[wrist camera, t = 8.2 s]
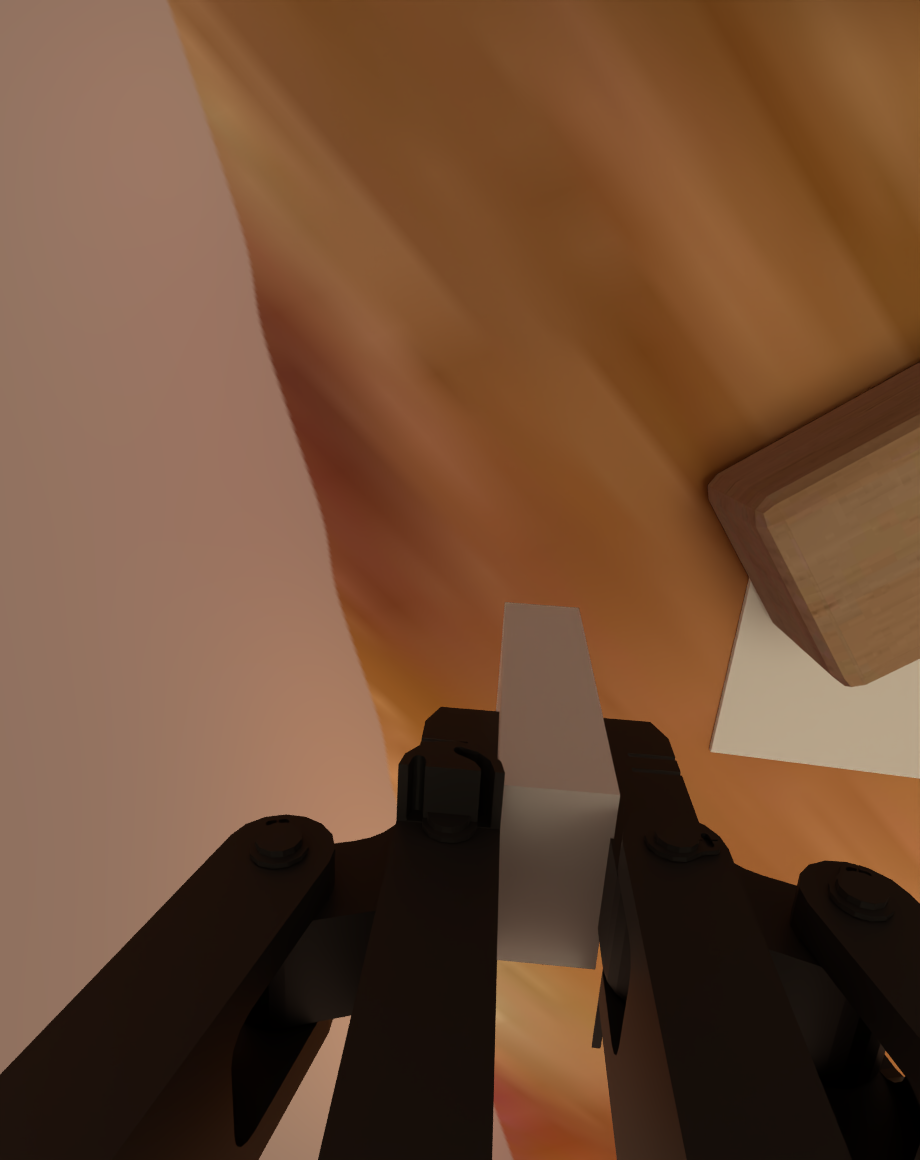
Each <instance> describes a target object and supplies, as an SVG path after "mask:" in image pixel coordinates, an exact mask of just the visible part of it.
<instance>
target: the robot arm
mask: <svg viewBox="0 0 920 1160" xmlns="http://www.w3.org/2000/svg"><path fill="white" fill-rule="evenodd" d="M599 942H600V950H601V957H602V965H603V972H602V978H601V985H600V992H599V999H598V1006H597V1012H596V1019H595V1026H594V1033H593V1041H592V1048H600V1047H601V1041H602V1037H603V1045H604V1054H605V1062H606V1071H607V1079H608V1088H609V1096H610V1104H611V1113H612V1121H613V1130H614V1138H615V1147H616V1155H617V1160H920V903H918V902H917V901H916V900H915V899H914V898H913V897H912V896H911V895H910V894H909V893H908V892H907V891H905V890H904V889H903V888H901V887H900V886H899V885H898V884H896V883H895V882H894V881H893V880H891V879H889V878H887V877H885V876H883V875H881V874H879V873H877V872H875V871H873V870H871V869H869V868H866V867H863V866H860V865H859V866H858V865H856V864H851V863H848V862H838V861H822V862H818V863H814V864H810V865H808V866H807V867H806V868H805V869H804V870H803V871H802V872H801V873H800V875H799V880H798V884H797V886H796V885H793V884H789V883H786V882H783V881H779V880H776V879H773V878H769V877H766V876H763V875H760V874H757V873H754V872H752V871H749V870H746V869H744V868H742V867H740V866H738V865H737V864H735V863H734V862H733V859H732V857H731V854H730V852H729V849H728V848H727V846H726V845H725V843H724V842H723V841H722V839H721V838H720V836H718V835H717V834H716V833H714V832H713V831H712V830H710V829H709V828H708V827H706V826H705V825H703V824H701V823H699V821H698V818H697V816H696V813H695V810H694V808H693V805H692V802H691V799H690V797H689V794H688V791H687V788H686V786H685V783H684V780H683V777H682V776H680V769H679V766H678V764H677V761H675V755H674V753H673V750H672V747H671V745H670V742H669V739H668V738H667V737H666V736H665V735H664V734H663V733H662V732H660V731H659V730H658V729H657V728H656V727H655V726H654V725H653V724H652V723H651V722H644V721H632V720H620V719H607V718H603V715H602V711H601V706H600V702H599V697H598V693H597V688H596V684H595V679H594V674H593V670H592V665H591V661H590V656H589V652H588V647H587V643H586V638H585V634H584V629H583V625H582V620H581V616H580V611H579V608H573V607H560V606H547V605H534V604H521V603H508V602H505V609H504V621H503V633H502V646H501V658H500V671H499V683H498V695H497V708H496V711H485V710H472V709H460V708H448V707H440V708H439V709H438V710H437V711H436V712H435V713H434V714H433V715H431V716H430V717H429V718H428V719H427V720H426V721H425V726H424V730H423V735H422V741H421V744H420V745H419V746H417V747H416V748H414V749H412V750H410V751H409V752H407V753H405V755H404V756H403V758H402V760H401V761H400V763H399V768H398V795H397V821H396V824H395V825H394V826H393V827H391V828H390V829H388V830H387V831H385V832H383V833H381V834H378V835H376V836H373V837H371V838H367V839H362V840H357V841H351V842H343V843H336V844H334V841H333V836H332V834H331V833H330V832H329V831H328V830H327V829H326V828H325V827H324V825H322V824H321V823H319V822H317V821H314V820H312V819H309V818H307V817H302V816H294V815H278V816H271V817H264V818H261V819H259V820H256V821H253V822H251V823H248V824H245V825H244V826H243V827H241V828H240V829H239V830H237V831H236V832H234V833H233V834H232V835H231V836H230V837H229V838H228V839H227V840H226V841H225V842H224V843H223V844H222V845H221V846H220V847H219V848H218V849H217V850H216V851H215V852H214V853H213V854H212V855H211V856H210V857H209V858H208V859H207V860H206V861H205V863H204V864H203V865H202V866H201V867H200V868H199V869H198V870H197V871H196V872H195V873H194V874H193V875H192V876H191V877H190V878H189V879H188V880H187V881H186V882H185V883H184V884H183V885H182V886H181V888H179V890H178V891H177V892H176V893H175V894H174V895H173V896H172V897H171V898H170V899H169V900H168V901H167V902H166V903H165V904H164V905H163V906H162V907H161V908H160V909H159V910H158V911H157V912H156V913H155V915H154V916H153V917H152V918H151V919H150V920H149V921H148V922H147V923H146V924H145V925H144V926H143V927H142V928H141V929H140V930H139V931H138V932H137V933H136V934H135V935H134V936H133V937H132V938H131V939H130V941H128V942H127V943H126V945H125V946H124V947H123V948H122V949H121V950H120V951H119V952H118V953H117V954H116V955H115V956H114V957H113V958H112V959H111V960H110V961H109V962H108V963H107V964H106V965H105V966H104V967H103V968H102V969H101V970H100V972H99V973H98V974H97V975H96V976H95V977H94V978H93V979H92V980H91V981H90V982H89V983H88V984H87V985H86V986H85V987H84V988H83V989H82V990H81V991H80V992H79V993H78V994H77V995H76V996H75V997H74V999H73V1000H72V1001H71V1002H70V1003H69V1004H68V1005H67V1006H66V1007H65V1008H64V1009H63V1010H62V1011H61V1012H60V1013H59V1014H58V1015H57V1016H56V1017H55V1018H54V1019H53V1020H52V1021H51V1022H50V1023H49V1024H48V1026H47V1027H46V1028H45V1029H44V1030H43V1031H42V1032H41V1033H40V1034H39V1035H38V1036H37V1037H36V1038H35V1039H34V1040H33V1041H32V1042H31V1043H30V1044H29V1045H28V1046H27V1047H26V1048H25V1049H24V1050H23V1052H22V1053H21V1054H20V1055H19V1056H18V1057H17V1058H16V1059H15V1060H14V1061H13V1062H12V1063H11V1064H10V1065H9V1066H8V1067H7V1068H6V1069H5V1070H4V1071H3V1072H2V1074H0V1160H259V1158H260V1156H261V1154H262V1152H263V1151H264V1148H265V1147H266V1145H267V1143H268V1141H269V1139H270V1138H271V1136H272V1134H273V1133H274V1131H275V1129H276V1127H277V1125H278V1123H279V1122H280V1120H281V1118H282V1116H283V1114H284V1113H285V1111H286V1109H287V1107H288V1105H289V1104H290V1102H291V1100H292V1098H293V1096H294V1095H295V1093H296V1091H297V1089H298V1087H299V1085H300V1084H301V1082H302V1080H303V1078H304V1076H305V1075H306V1073H307V1071H308V1069H309V1067H310V1066H311V1064H312V1062H313V1060H314V1058H315V1056H316V1055H317V1053H318V1051H319V1049H320V1047H321V1046H322V1044H323V1042H324V1040H325V1038H326V1037H327V1035H328V1033H329V1030H330V1027H331V1023H332V1020H333V1019H334V1018H339V1017H345V1016H350V1015H351V1019H350V1024H349V1028H348V1033H347V1037H346V1041H345V1046H344V1050H343V1054H342V1059H341V1063H340V1067H339V1071H338V1076H337V1080H336V1084H335V1089H334V1093H333V1097H332V1102H331V1106H330V1111H329V1114H328V1119H327V1123H326V1127H325V1132H324V1136H323V1140H322V1145H321V1149H320V1153H319V1158H318V1160H492V1139H493V1099H494V1058H495V1018H496V977H497V960H504V961H514V962H525V963H535V964H545V965H555V966H566V967H576V968H586V969H595V967H596V960H597V953H598V946H599ZM885 1051H887V1053H888V1054H889V1055H890V1057H891V1058H892V1059H893V1061H894V1062H895V1063H896V1065H897V1066H898V1067H899V1069H900V1070H901V1071H902V1072H903V1074H904V1075H905V1077H903V1076H902V1075H901V1074H900V1073H899V1072H898V1071H897V1070H896V1069H895V1067H894V1066H893V1065H892V1063H891V1062H890V1061H889V1060H888V1058H887V1057H886V1056H885Z"/></svg>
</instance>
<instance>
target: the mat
mask: <svg viewBox="0 0 920 1160" xmlns="http://www.w3.org/2000/svg"><path fill="white" fill-rule="evenodd" d="M709 749H710V751H711V752H716V753H724V754H732V755H740V756H748V757H756V758H763V759H771V760H779V761H787V762H795V763H803V764H811V765H818V766H826V767H834V768H842V769H850V770H858V771H866V772H874V773H881V774H889V775H897V776H905V777H913V778H920V659H918V660H916V661H914V662H912V663H910V664H908V665H906V666H904V667H902V668H900V669H898V670H896V671H893V672H891V673H889V674H887V675H885V676H883V677H881V678H879V679H877V680H875V681H873V682H871V683H869V684H867V685H862V686H856V687H848V686H844V685H843V684H841V683H840V682H839V681H837V680H836V679H835V678H834V677H832V676H831V675H830V674H829V673H828V672H827V671H826V670H825V669H823V668H822V667H821V666H820V665H819V664H818V663H817V662H816V661H815V660H813V659H812V658H811V657H810V656H809V655H808V654H807V653H806V652H805V651H803V650H802V649H801V648H800V647H799V646H798V645H797V644H796V643H795V642H793V641H792V640H791V639H790V638H789V637H788V636H787V635H786V634H785V633H783V632H782V631H781V630H780V629H779V628H778V627H777V626H776V625H775V624H773V622H772V620H771V618H770V617H769V615H768V613H767V611H766V609H765V607H764V605H763V603H762V601H761V599H760V597H759V595H758V593H757V592H756V590H755V588H754V586H753V584H752V582H751V580H750V578H749V580H748V584H747V589H746V593H745V597H744V602H743V606H742V610H741V614H740V619H739V623H738V627H737V632H736V636H735V640H734V644H733V649H732V653H731V657H730V661H729V666H728V670H727V674H726V679H725V683H724V687H723V691H722V696H721V700H720V704H719V709H718V713H717V717H716V721H715V726H714V730H713V734H712V739H711V743H710V747H709Z"/></svg>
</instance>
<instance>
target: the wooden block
mask: <svg viewBox="0 0 920 1160" xmlns="http://www.w3.org/2000/svg"><path fill="white" fill-rule="evenodd" d="M708 498H709V501H710V503H711V505H712V507H713V509H714V511H715V513H716V515H717V517H718V519H719V520H720V522H721V524H722V526H723V528H724V530H725V532H726V534H727V536H728V538H729V540H730V542H731V544H732V545H733V547H734V549H735V551H736V553H737V555H738V557H739V559H740V561H741V563H742V565H743V567H744V568H745V570H746V572H747V574H748V576H749V578H750V580H751V582H752V584H753V586H754V588H755V590H756V592H757V593H758V595H759V597H760V599H761V601H762V603H763V605H764V607H765V609H766V611H767V613H768V615H769V617H770V618H771V620H772V622H773V624H775V625H776V626H777V627H778V628H779V629H780V630H781V631H782V632H783V633H785V634H786V635H787V636H788V637H789V638H790V639H791V640H792V641H793V642H795V643H796V644H797V645H798V646H799V647H800V648H801V649H802V650H803V651H805V652H806V653H807V654H808V655H809V656H810V657H811V658H812V659H813V660H815V661H816V662H817V663H818V664H819V665H820V666H821V667H822V668H823V669H825V670H826V671H827V672H828V673H829V674H830V675H831V676H832V677H834V678H835V679H836V680H837V681H839V682H840V683H841V684H843V685H844V686H848V687H856V686H862V685H867V684H869V683H871V682H873V681H875V680H877V679H879V678H881V677H883V676H885V675H887V674H889V673H891V672H893V671H896V670H898V669H900V668H902V667H904V666H906V665H908V664H910V663H912V662H914V661H916V660H918V659H920V362H919V363H917V364H916V365H914V366H912V367H910V368H908V369H907V370H905V371H903V372H901V373H899V374H898V375H896V376H894V377H892V378H890V379H888V380H887V381H885V382H883V383H881V384H879V385H878V386H876V387H874V388H872V389H870V390H869V391H867V392H865V393H863V394H861V395H859V396H858V397H856V398H854V399H852V400H850V401H849V402H847V403H845V404H843V405H841V406H840V407H838V408H836V409H834V410H832V411H830V412H829V413H827V414H825V415H823V416H821V417H820V418H818V419H816V420H814V421H812V422H811V423H809V424H807V425H805V426H803V427H801V428H800V429H798V430H796V431H794V432H792V433H791V434H789V435H787V436H785V437H783V438H782V439H780V440H778V441H776V442H774V443H773V444H771V445H769V446H767V447H765V448H763V449H762V450H760V451H758V452H756V453H754V454H753V455H751V456H749V457H747V458H745V459H744V460H742V461H740V462H738V463H736V464H734V465H733V466H731V467H729V468H727V469H725V470H724V471H722V472H720V473H718V474H717V475H716V476H715V477H714V478H713V480H712V481H711V482H710V483H709V484H708Z"/></svg>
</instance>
